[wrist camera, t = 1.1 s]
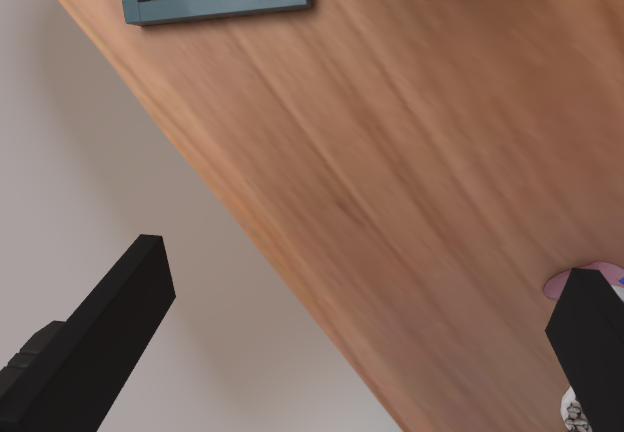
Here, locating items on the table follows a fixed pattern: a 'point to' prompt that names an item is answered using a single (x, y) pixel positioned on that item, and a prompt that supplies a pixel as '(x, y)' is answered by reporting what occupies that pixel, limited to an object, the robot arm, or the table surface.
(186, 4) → the teal u-shaped frame
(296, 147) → the table surface
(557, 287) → the video game controller
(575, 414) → the decorative candle
